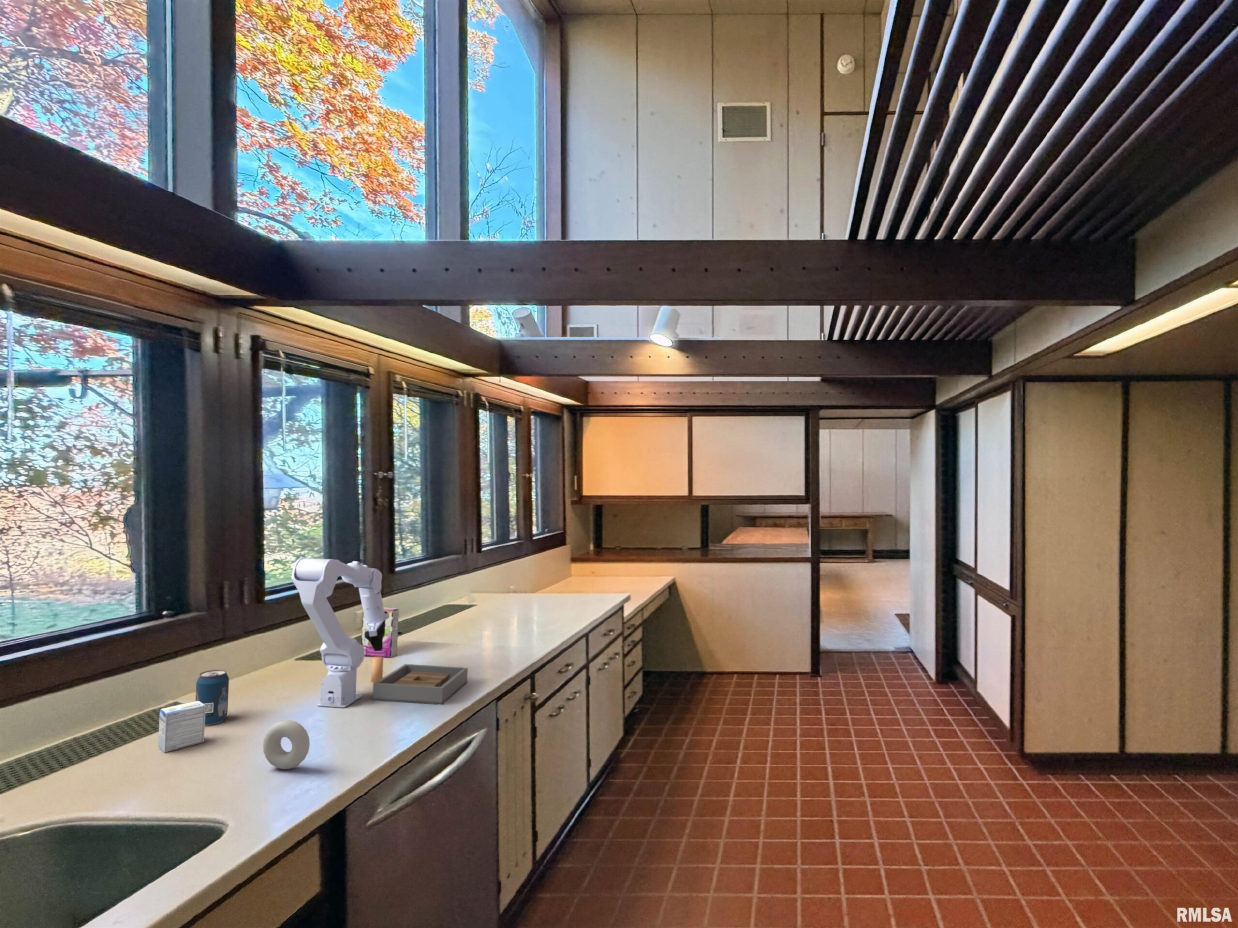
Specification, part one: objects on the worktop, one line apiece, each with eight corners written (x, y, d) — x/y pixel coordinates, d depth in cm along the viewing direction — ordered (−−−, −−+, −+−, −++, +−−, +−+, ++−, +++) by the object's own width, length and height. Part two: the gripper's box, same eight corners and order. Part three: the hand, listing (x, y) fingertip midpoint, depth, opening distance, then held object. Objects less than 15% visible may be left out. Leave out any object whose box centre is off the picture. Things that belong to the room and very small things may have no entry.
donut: (312, 766, 136) (314, 719, 137) (302, 774, 133) (304, 725, 133) (269, 763, 138) (271, 715, 138) (257, 770, 134) (260, 721, 134)
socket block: (433, 696, 180) (434, 686, 180) (393, 694, 182) (393, 683, 182) (449, 683, 192) (450, 673, 192) (411, 681, 194) (411, 671, 194)
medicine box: (197, 737, 150) (199, 700, 150) (204, 742, 147) (206, 704, 147) (157, 747, 144) (159, 708, 144) (163, 753, 141) (165, 713, 141)
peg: (379, 683, 193) (380, 659, 193) (369, 682, 193) (370, 659, 194) (384, 680, 196) (385, 656, 197) (374, 679, 197) (375, 656, 197)
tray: (441, 704, 176) (442, 688, 176) (372, 700, 178) (373, 683, 178) (467, 682, 196) (467, 667, 196) (404, 678, 198) (405, 664, 198)
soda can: (198, 717, 162) (200, 669, 162) (229, 715, 164) (232, 667, 165) (190, 727, 155) (193, 677, 156) (223, 724, 158) (226, 675, 158)
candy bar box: (360, 656, 221) (362, 608, 222) (367, 653, 226) (369, 606, 227) (391, 658, 220) (393, 610, 221) (397, 654, 225) (399, 607, 226)
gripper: (384, 615, 186) (391, 654, 191) (388, 590, 200) (395, 627, 204) (358, 619, 185) (366, 658, 189) (364, 593, 198) (371, 631, 203)
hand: (379, 642), depth 197 cm, fingers open, 7 cm apart
